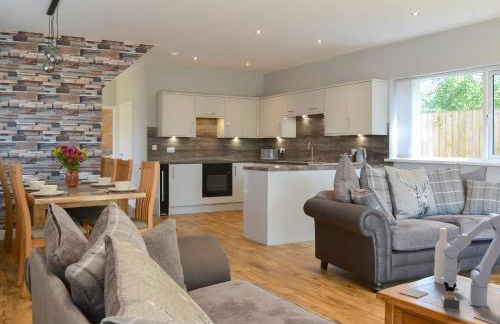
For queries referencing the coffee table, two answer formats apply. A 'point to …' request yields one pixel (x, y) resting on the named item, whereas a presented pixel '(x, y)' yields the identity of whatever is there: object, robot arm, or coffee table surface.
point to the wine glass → (457, 271)
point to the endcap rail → (451, 304)
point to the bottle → (440, 256)
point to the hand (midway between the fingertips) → (449, 297)
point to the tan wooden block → (450, 295)
